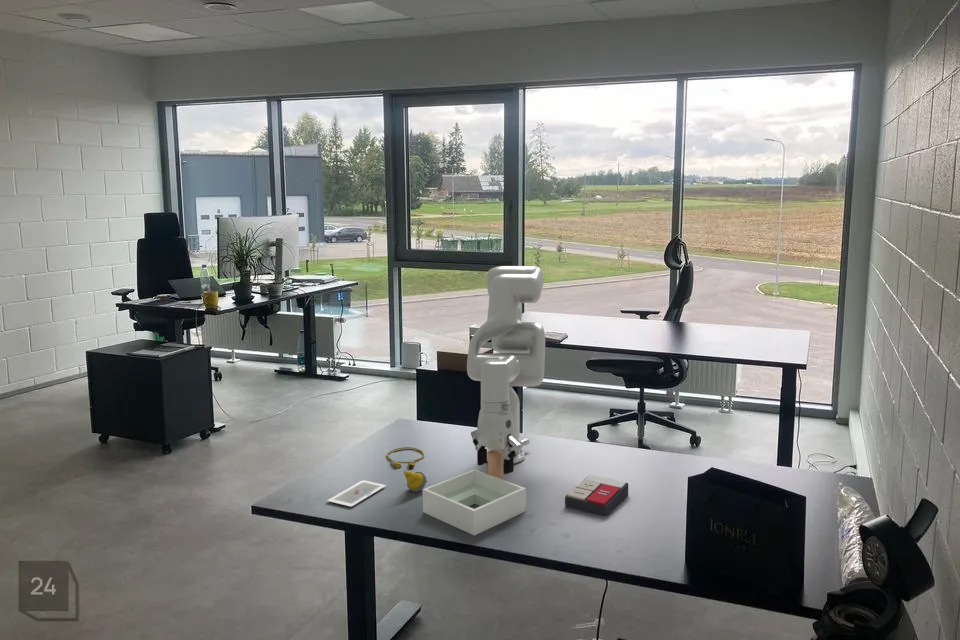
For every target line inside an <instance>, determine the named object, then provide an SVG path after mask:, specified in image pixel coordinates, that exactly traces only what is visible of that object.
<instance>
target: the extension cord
mask: <svg viewBox="0 0 960 640" xmlns="http://www.w3.org/2000/svg"><path fill="white" fill-rule="evenodd" d="M405 450H408V451H415V452H419V453H420V454H421V455H422V457H421V458H417V459H409V460H408V461H397V460H395V459H391V458H390V456H389V455H391V454H393V453H396V452H399V451H405ZM385 458H386V460H388V461H389V462H390V463H391V464H392V467H394V469H399V468H402V465H401V464H408V469H414V467H415V464H416V463H417V462H419V461H420V460H423V459H424V458H425V453H424V452H423V450H422V449H418V448H415V447H412V446H411V447H409V446H406V447H404V446H403V447H399V448H394V449H392V450H389V451H388V452H387V453H386V456H385Z"/></svg>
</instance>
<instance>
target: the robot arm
mask: <svg viewBox="0 0 960 640" xmlns="http://www.w3.org/2000/svg"><path fill="white" fill-rule="evenodd" d="M544 278H545V277H544V273H543V270H542V269H541V268H540V267H539V266H535V265H533V266H532V265H531V266H530V265H528V266H527V265H526V266H525V265H500V266H496V267H495V266H494V267H492V268H490V269H488V271H487V273H486V287H487V293H488V297H489V298H488V308H487V309H488V310H487V320H486V321H485V322H484V323H483V324H481V326H479V327H478V329H477V330H476V331H475V332H474V334H473V335H472V337H471V339H470V341H469V345H468V353H467V359H466V371H467V373H466V374H467V376H468V377H469V378H470V379H471V380H473V381H478V382H480V410H479V413H478V419H477V429H475V430H473V431H471V432H470V436H471V438H472V443H473V445H474V446H475V448H474V449H475V450H476V453H477V455H476V456H477V457H476V459H477V462H476V463H477V466H483V465H485V464H488V452H489V451H491V450H498V451H502V453H503V475H508V474H511V473H513V472H514V464H517V463H521V462H522V461H523V460H525V457H526V455H525V454H526V453H525V452H524V451H523V449H522V448H523V447H524V446H527V445H530V443H531V442H530V439H529V438H523V439H522V440H521V438H520V437H521V436H520V434H521V432H520V430H521V429H520V419H521V418H520V405H521V404H520V403H521V402H520V398H519V396H518V394H517V393H516V391H515V390H514V388H513V387H537V386H538V387H539V386H540V385H541V384H542V383H543V380H544V377H545V365H546V363H545V361H546V359H545V357H546V334H545V329H544V326H543V325H542V324H540V323H538V322H533V321H532V322H531V321H522V311H523V310H522V309H521V307H520V306H519V304H536V303H538V302H539V300H540V298H541V296H542V291H543V287H544ZM488 341H491V346H492V349H493V350H494V351H495V352H494V353H480V350H481V348H482V346H483V345H485V344H486V343H487V342H488Z"/></svg>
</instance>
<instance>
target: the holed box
mask: <svg viewBox="0 0 960 640" xmlns="http://www.w3.org/2000/svg"><path fill="white" fill-rule="evenodd" d="M473 505H477V506H478V507H476V508H473V507H470V506H473ZM526 511H527V488H526V487H525V486H521V485H518V484H516V483H513V482H510V481H507V480H505V479H503V480H502V479H500V478H497V477H494V476H492V475H489V474H488V473H487V472H483V471H481V470H477V469H471V470H469V471H466V472H464V473H461V474H458V475H456V476H453V477H450V478H448V479H446V480H443V481H440V482H438V483H435V484H432V485H430V486H427V487H424V488H423V489H422V513H424V514H425V515H428V516H431V517H433V518H436V520H439V521H441V522H443V523H446V524H448V525H450V526H452V527H454V528H457V529H459V530H461V531H464V532H465V533H468V534H470V535H472V536H477V535H479V534H481V533H483V532H485V531H487V530H489V529H491V528H493V527H496V526H498V525H501V524H502V523H504V522H506V521H509V520H510V519H512V518H514V517H516V516H518V515H521V514H523V513H525V512H526Z"/></svg>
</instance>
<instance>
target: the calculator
mask: <svg viewBox="0 0 960 640" xmlns="http://www.w3.org/2000/svg"><path fill="white" fill-rule="evenodd" d="M627 497H629V483H628V482H627V481H623V480H620V479H615V478H608V477H606V476H601V475H597V474H589V475H587V476H586V477H585V478H584V479H583V480H581V482H580V483H578V484H577V485H576V486H575V487H574V488H573V489H572V490H571V491H570V492H569V493H567V495H566V496H564V507H565V508H568V509H572V510H575V511H581V512H585V513H588V514H593V515H597V516H601V517H607V516H609V514H610V513H611V512H612V511H614V509H615V508H616V507H617V506H618V505H619V504H620V503H621V502H622V501H623V502H624V500H626V498H627Z"/></svg>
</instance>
